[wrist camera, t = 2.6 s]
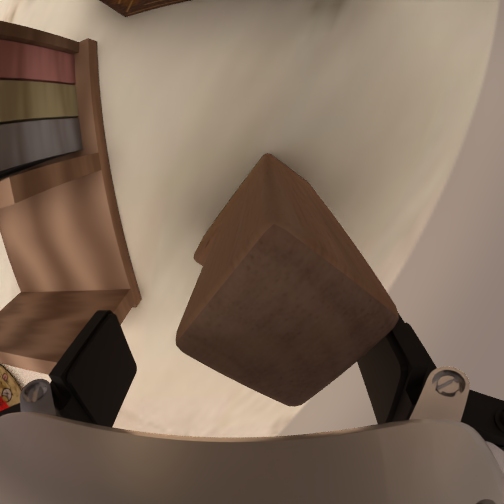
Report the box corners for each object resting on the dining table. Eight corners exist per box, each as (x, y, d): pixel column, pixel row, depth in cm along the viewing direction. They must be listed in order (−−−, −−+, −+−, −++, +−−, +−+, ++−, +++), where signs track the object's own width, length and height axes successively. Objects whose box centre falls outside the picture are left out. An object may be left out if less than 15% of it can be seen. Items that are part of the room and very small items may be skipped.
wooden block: (245, 267, 26) (219, 461, 10) (202, 237, 26) (116, 413, 9) (311, 185, 23) (409, 321, 7) (266, 150, 23) (272, 214, 6)
